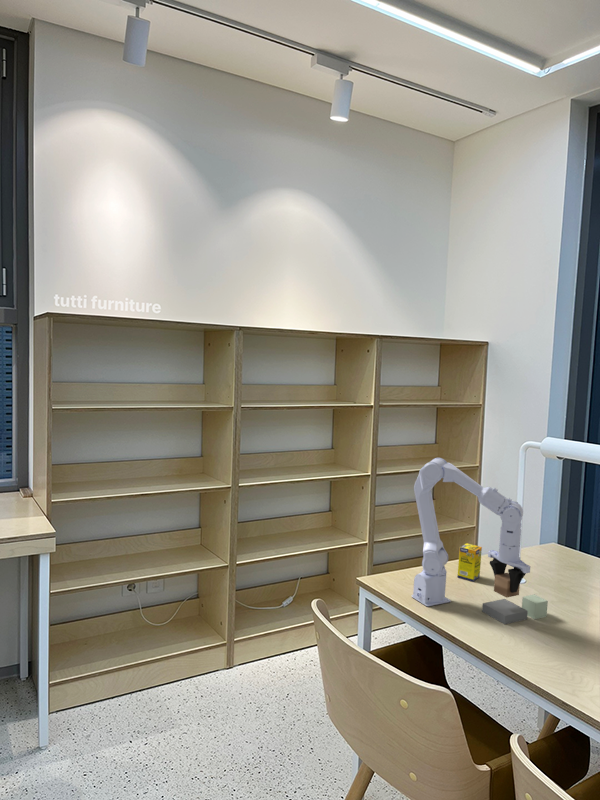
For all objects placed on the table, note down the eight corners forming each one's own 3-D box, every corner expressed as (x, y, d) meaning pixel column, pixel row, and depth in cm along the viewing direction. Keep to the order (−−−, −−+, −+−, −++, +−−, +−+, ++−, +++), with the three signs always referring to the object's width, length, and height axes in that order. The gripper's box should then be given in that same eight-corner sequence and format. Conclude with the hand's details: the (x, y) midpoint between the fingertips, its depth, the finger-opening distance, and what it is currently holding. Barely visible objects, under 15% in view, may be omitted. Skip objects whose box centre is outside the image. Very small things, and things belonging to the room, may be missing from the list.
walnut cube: (506, 597, 173) (507, 581, 173) (493, 591, 178) (494, 574, 177) (518, 595, 175) (520, 578, 175) (506, 588, 180) (507, 572, 179)
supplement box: (473, 582, 202) (476, 550, 201) (456, 577, 205) (459, 546, 204) (480, 577, 207) (482, 546, 206) (463, 572, 210) (465, 542, 209)
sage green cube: (534, 619, 175) (535, 603, 175) (521, 612, 180) (522, 596, 179) (546, 616, 177) (547, 600, 177) (533, 610, 182) (534, 594, 181)
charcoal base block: (504, 625, 171) (505, 615, 171) (481, 612, 179) (482, 603, 179) (526, 620, 175) (527, 610, 175) (503, 608, 183) (504, 598, 183)
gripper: (539, 549, 171) (535, 595, 172) (501, 534, 183) (498, 577, 185) (521, 552, 167) (517, 599, 169) (484, 537, 180) (481, 580, 181)
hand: (506, 588), depth 176 cm, fingers closed on walnut cube, 5 cm apart
